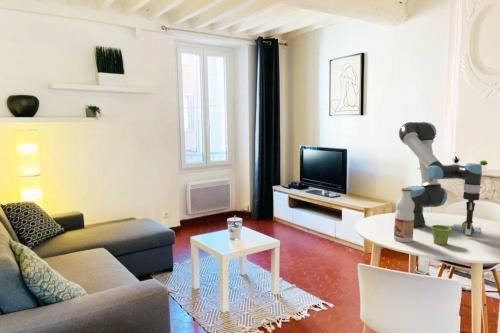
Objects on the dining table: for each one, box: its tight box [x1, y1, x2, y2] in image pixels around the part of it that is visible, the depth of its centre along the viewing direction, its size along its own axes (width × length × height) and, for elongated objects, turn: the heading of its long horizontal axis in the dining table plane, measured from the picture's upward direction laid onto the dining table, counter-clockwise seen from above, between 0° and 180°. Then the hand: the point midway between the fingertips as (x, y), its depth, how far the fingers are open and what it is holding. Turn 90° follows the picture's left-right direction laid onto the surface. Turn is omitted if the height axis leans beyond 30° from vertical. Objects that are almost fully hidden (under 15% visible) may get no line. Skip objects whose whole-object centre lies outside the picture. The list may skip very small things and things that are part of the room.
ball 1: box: [461, 220, 474, 228], centre depth 217 cm, size 6×6×6 cm
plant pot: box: [431, 224, 452, 246], centre depth 193 cm, size 9×9×9 cm
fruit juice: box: [393, 187, 415, 243], centre depth 197 cm, size 9×9×28 cm
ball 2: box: [462, 226, 474, 236], centre depth 208 cm, size 6×6×6 cm
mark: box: [452, 223, 482, 234], centre depth 221 cm, size 14×14×1 cm
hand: (467, 234), depth 204 cm, fingers closed
